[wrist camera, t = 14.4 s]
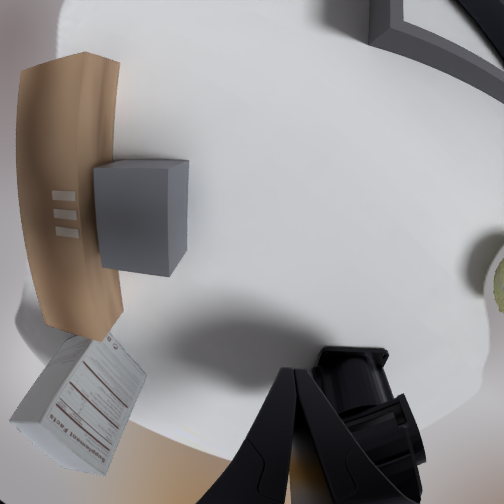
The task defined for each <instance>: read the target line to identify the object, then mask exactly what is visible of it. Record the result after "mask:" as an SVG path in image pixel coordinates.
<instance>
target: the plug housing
mask: <svg viewBox="0 0 504 504" xmlns="http://www.w3.org/2000/svg"><path fill="white" fill-rule="evenodd" d="M188 172H189V161H187V160H153V159H124V160H120V161H117V162H113V163H109V164H106V165H102V166H99V167H96V168H94V195H95V210H96V222H97V233H98V242H99V250H100V258H101V265H102V268H108V269H115V270H122V271H128V272H135V273H142V274H149V275H156V276H164V277H170V276H171V274H172V272H173V271H174V269H175V268H176V266H177V265H178V263H179V262H180V260H181V259H182V257H183V256H184V254H185V253H186V251H187V204H188Z"/></svg>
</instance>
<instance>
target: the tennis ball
mask: <svg viewBox="0 0 504 504" xmlns="http://www.w3.org/2000/svg"><path fill="white" fill-rule="evenodd" d="M495 272H496V274H495V277H494V294H495V300H496V303H497V305H498V307H499V311H500V312H503V313H504V259H503V260H502V261H501V262H500V264H499V266H498V268H497V269H496V271H495Z"/></svg>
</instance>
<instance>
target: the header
mask: <svg viewBox="0 0 504 504" xmlns="http://www.w3.org/2000/svg"><path fill="white" fill-rule="evenodd" d="M119 67H120V63H119V62H116V61H114V60H111V59H108V58H105V57H101V56H98V55H95V54H92V53H89V52H82V53H78V54H74V55H70V56H66V57H63V58H59V59H56V60H52V61H49V62H46V63H43V64H40V65H37V66H34V67H31V68H28V69H25V70H22V71H21V77H20V85H19V94H18V105H17V123H16V168H17V185H18V197H19V206H20V214H21V222H22V229H23V235H24V241H25V246H26V251H27V256H28V261H29V266H30V270H31V275H32V279H33V283H34V287H35V290H36V294H37V298H38V301H39V305H40V308H41V311H42V314H43V318H44V321H45V324H46V325H48V326H51V327H54V328H57V329H60V330H63V331H66V332H69V333H72V334H75V335H78V336H82V337H85V338H88V339H92V340H95V341H99V342H102V341H103V339H104V338H105V336H106V335H107V334H108V332H109V331H110V329H111V328H112V326H113V325H114V324H115V322H116V321H117V319H118V318H119V317H120V315H121V314H122V312H123V304H122V297H121V290H120V282H119V274H118V270H115V269H108V268H102V265H101V258H100V250H99V242H98V233H97V222H96V210H95V195H94V168H96V167H99V166H102V165H106V164H109V163H113V134H114V117H115V104H116V93H117V83H118V75H119Z"/></svg>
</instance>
